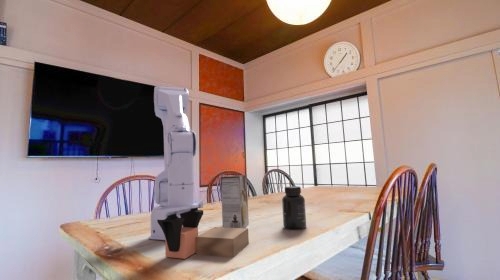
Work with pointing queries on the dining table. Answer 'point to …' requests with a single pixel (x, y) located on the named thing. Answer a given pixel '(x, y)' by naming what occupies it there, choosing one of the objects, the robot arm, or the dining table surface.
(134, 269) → the dining table surface
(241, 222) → the coffee box
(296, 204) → the supplement bottle
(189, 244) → the red cube
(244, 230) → the walnut block
